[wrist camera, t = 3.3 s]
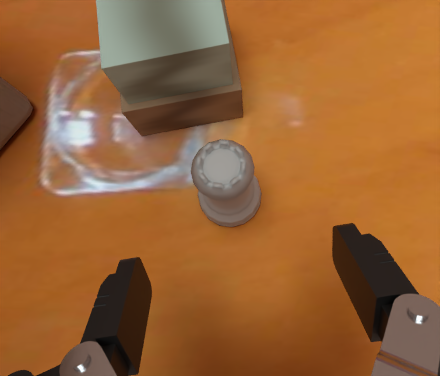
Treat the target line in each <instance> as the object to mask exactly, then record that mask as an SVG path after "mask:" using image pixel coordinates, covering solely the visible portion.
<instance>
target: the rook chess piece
mask: <svg viewBox="0 0 440 376" xmlns="http://www.w3.org/2000/svg"><path fill="white" fill-rule="evenodd" d="M191 175H192V179H193V183H194V185H195V186H196V187H197V189H198V190H199V191H198V198H199V202H200V206H201V209H202V211H203V212H204V213H205V215H206V216H207V217H208V219H210V220H211V221H213V222H215V223H216V224H218V225H221V226H228V227H233V226H237V225H241V224H244V223H245V222H247V221H248V220H249V219H251V218H252V217H253V216H254V215H255V213H256V211H257V210H258V208H259V206H260V201H261V190H260V186H259V183H258V180H257V178H256V177H255V176H254V164H253V160H252V157H251V155H250V154H249V152H248V151H247V150H246V149H245V148H244V146H242V145H240V144H238V143H236V142H234V141H230V140H221V139H219V140H217V141H213V142H209V143H208V144H206V145H205V146H204V147H202V148H201V149H200V150H199V151H198V153H197V154H196V156H195V157H194V159H193V162H192V168H191Z"/></svg>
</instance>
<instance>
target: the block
mask: <svg viewBox="0 0 440 376" xmlns="http://www.w3.org/2000/svg"><path fill="white" fill-rule="evenodd" d="M32 109H33V107H32V106H31V104H30V102H29V100H28V98H27V97H26V96H25V95H24V94H22V93H21V92H20V91H18V90H17V89H16V88H14V87H13V86H12V85H10V84H9V83H8V82H6V81H5V80H4V79H2V78H1V77H0V150H1V148H2V147H3V146H4V145H5V144H6V143H7V141H8V140H9V139H10V138H11V137H12V136H13V135H14V133H15V132H16V131H17V130H18V129H19V128H20V126H21V125H22V124H23V123H24V122H25V121H26V120H27V118H28V117H29V116H30V115H31V112H32Z"/></svg>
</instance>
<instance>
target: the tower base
mask: <svg viewBox="0 0 440 376" xmlns="http://www.w3.org/2000/svg"><path fill="white" fill-rule="evenodd" d="M96 4H97V17H98V29H99V42H100V54H101V67H102V70H103V71H104V72H105V74H106V75H107V76H108V78H109V79H110V80H111V82H112V83H113V84H114V86H115V87H116V88H117V90H118V91H119V92H120V97H121V108H122V113H123V114H124V116H125V117H126V118H127V119H128V120H129V121H130V123H131V124H132V125H133V126H134V127H135V129H136V130H137V131H138V132H139V133H140V135H141V136H144V135H149V134H155V133H160V132H165V131H171V130H176V129H182V128H187V127H192V126H198V125H203V124H208V123H214V122H219V121H224V120H230V119H235V118H240V117H243V106H242V88H241V83H240V78H239V73H238V68H237V63H236V58H235V52H234V47H233V42H232V37H231V32H230V27H229V22H228V17H227V12H226V7H225V2H224V0H96Z"/></svg>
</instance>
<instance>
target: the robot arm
mask: <svg viewBox="0 0 440 376" xmlns="http://www.w3.org/2000/svg"><path fill="white" fill-rule="evenodd" d="M332 255H333V261H334V265H335V268H336V270H337V272H338V274H339V276H340V278H341V281H342V283H343V285H344V287H345V289H346V291H347V293H348V295H349V297H350V299H351V301H352V303H353V305H354V308H355V310H356V312H357V314H358V316H359V318H360V320H361V322H362V324H363V326H364V328H365V330H366V333H367V335H368V337H369V339H370V341H371V342H376V341H382V345H381V349H380V352H379V353H378V354H377V357H376V361H375V364H374V367H373V371H372V374H371V376H440V307H439V306H438V305H437V304H436V303H435V302H434V301H432V300H430V299H429V298H427V297H424V296H422V295H419V293H418V292H417V291H416V290H415V288H414V287H413V285H412V284H411V283H410V281H409V280H408V278H407V277H406V276H405V274H404V273H403V271H402V270H401V269H400V267H399V266H398V264H397V263H396V262H394V259H393V257H392V256H391V255H390V253H388V250H387V249H386V248H385V246H384V245H383V244H382V242H381V241H380V240H378V239H377V238H375V237H374V236H372V235H371V234H364V235H361V233H360V232H359V230H358V229H357V227H356V226H355V224H353V223H350V224H343V225H337V226H334V227H333V247H332ZM151 297H152V288H151V283H150V280H149V278H148V275H147V273H146V271H145V268H144V266H143V263H142V261H141V259H140V258H139V257H136V258H130V259H124V260H120V262H119V264H118V267H117V270H116V274H110V275H109V276H108V277H107V278H106V279H105V281H104V282H103V283H102V284H101V286H100V289H99V292H98V295H97V298H96V300H95V303H94V308H93V309H92V312H91V315H90V317H89V320H88V323H87V326H86V329H85V331H84V334H83V337H82V340H81V342H80V344H79V345H77V346H75V347H74V348H73V349H71V350H70V351H69V352H68V353H67V355H66V356H65V357H64V359H63V361H62V362H61V364H60V365H58V366H56V367H54V368H52V369H50V370H48V371H45V372H43V373H41V374H39V375H37V376H129V375H136V374H138V373H139V367H140V361H141V355H142V349H143V344H144V338H145V332H146V326H147V321H148V315H149V309H150V303H151ZM8 376H33V374H32V373H31V372H29V371H27V370H20V371H16V372H14V373H12V374H10V375H8Z"/></svg>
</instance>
